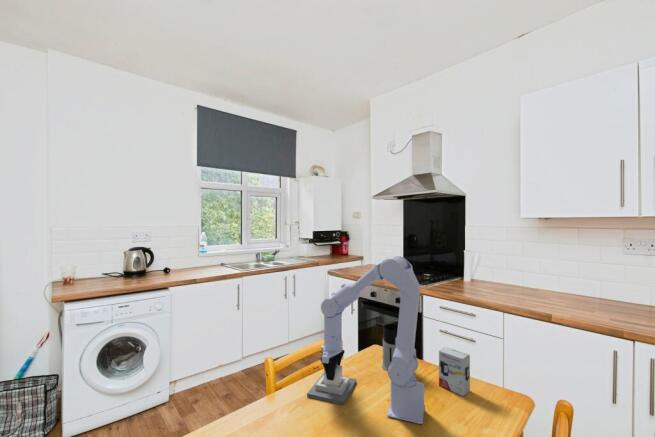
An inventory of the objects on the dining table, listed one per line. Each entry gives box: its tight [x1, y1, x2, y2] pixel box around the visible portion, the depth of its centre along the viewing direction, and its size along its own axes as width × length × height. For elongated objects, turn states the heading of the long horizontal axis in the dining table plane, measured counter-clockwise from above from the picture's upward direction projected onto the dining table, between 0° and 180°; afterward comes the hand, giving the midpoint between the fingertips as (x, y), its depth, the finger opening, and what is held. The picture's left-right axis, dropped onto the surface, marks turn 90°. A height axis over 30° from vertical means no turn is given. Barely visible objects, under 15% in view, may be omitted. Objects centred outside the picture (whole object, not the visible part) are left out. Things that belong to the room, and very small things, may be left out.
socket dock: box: [306, 372, 357, 406], centre depth 98 cm, size 12×14×2 cm
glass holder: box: [381, 323, 398, 372], centre depth 111 cm, size 9×14×15 cm, turn 178°
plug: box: [323, 364, 343, 387], centre depth 98 cm, size 5×4×6 cm
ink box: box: [438, 346, 471, 397], centre depth 99 cm, size 9×5×12 cm, turn 42°
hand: (332, 376), depth 98 cm, fingers closed on plug, 4 cm apart
